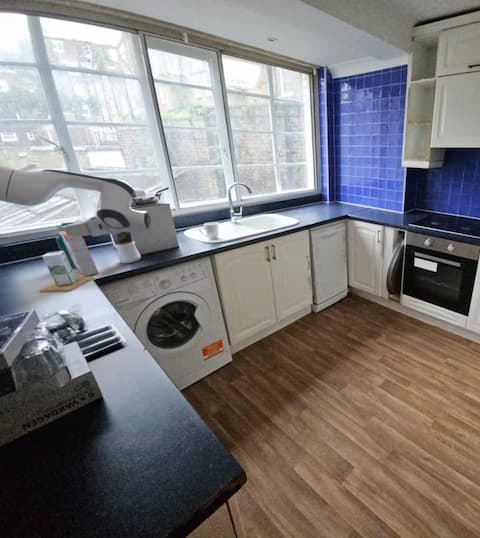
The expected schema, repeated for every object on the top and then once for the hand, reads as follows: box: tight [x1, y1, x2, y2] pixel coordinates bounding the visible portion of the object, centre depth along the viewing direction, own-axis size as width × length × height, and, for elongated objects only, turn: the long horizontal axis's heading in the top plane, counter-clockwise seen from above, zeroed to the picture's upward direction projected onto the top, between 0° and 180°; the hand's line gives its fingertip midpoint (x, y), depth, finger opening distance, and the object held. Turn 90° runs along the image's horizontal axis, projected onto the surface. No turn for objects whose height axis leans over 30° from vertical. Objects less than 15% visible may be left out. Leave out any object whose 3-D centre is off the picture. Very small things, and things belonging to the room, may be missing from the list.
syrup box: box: [41, 250, 77, 286], centre depth 129 cm, size 6×6×14 cm
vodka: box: [110, 232, 142, 264], centre depth 153 cm, size 9×9×30 cm
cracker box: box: [58, 231, 99, 277], centre depth 142 cm, size 14×6×21 cm, turn 52°
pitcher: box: [55, 221, 77, 270], centre depth 151 cm, size 10×8×22 cm
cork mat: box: [38, 276, 94, 293], centre depth 132 cm, size 13×13×1 cm
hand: (68, 225), depth 118 cm, fingers open, 8 cm apart
